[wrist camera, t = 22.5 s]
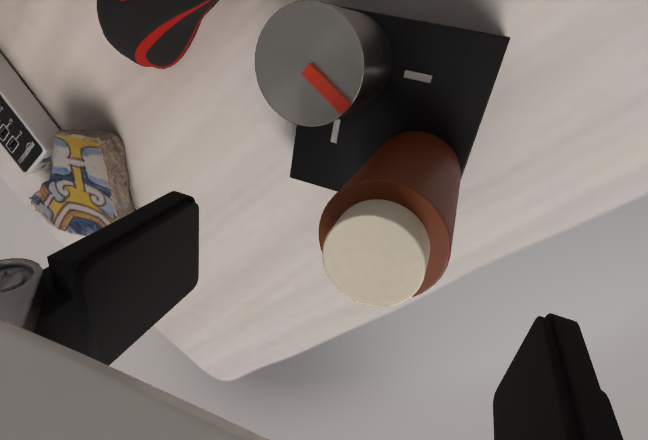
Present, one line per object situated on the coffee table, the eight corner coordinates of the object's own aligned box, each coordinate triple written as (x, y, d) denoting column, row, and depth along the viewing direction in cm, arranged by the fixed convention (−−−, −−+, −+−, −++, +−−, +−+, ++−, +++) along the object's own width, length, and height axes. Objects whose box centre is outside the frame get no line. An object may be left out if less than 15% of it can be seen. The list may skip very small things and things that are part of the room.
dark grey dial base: (305, -39, 23) (281, -50, 20) (521, -5, 20) (528, -13, 17) (281, 157, 28) (260, 169, 26) (448, 205, 26) (445, 225, 23)
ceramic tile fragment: (40, 100, 30) (145, 179, 29) (78, 94, 32) (174, 166, 32) (25, 213, 36) (111, 280, 35) (58, 200, 39) (138, 262, 38)
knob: (291, 64, 22) (231, 71, 17) (345, -11, 20) (296, -32, 14) (350, 125, 23) (310, 151, 17) (412, 57, 20) (388, 62, 15)
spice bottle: (382, 121, 22) (315, 175, 13) (473, 143, 21) (469, 220, 12) (363, 201, 24) (294, 296, 15) (445, 226, 23) (423, 344, 14)
